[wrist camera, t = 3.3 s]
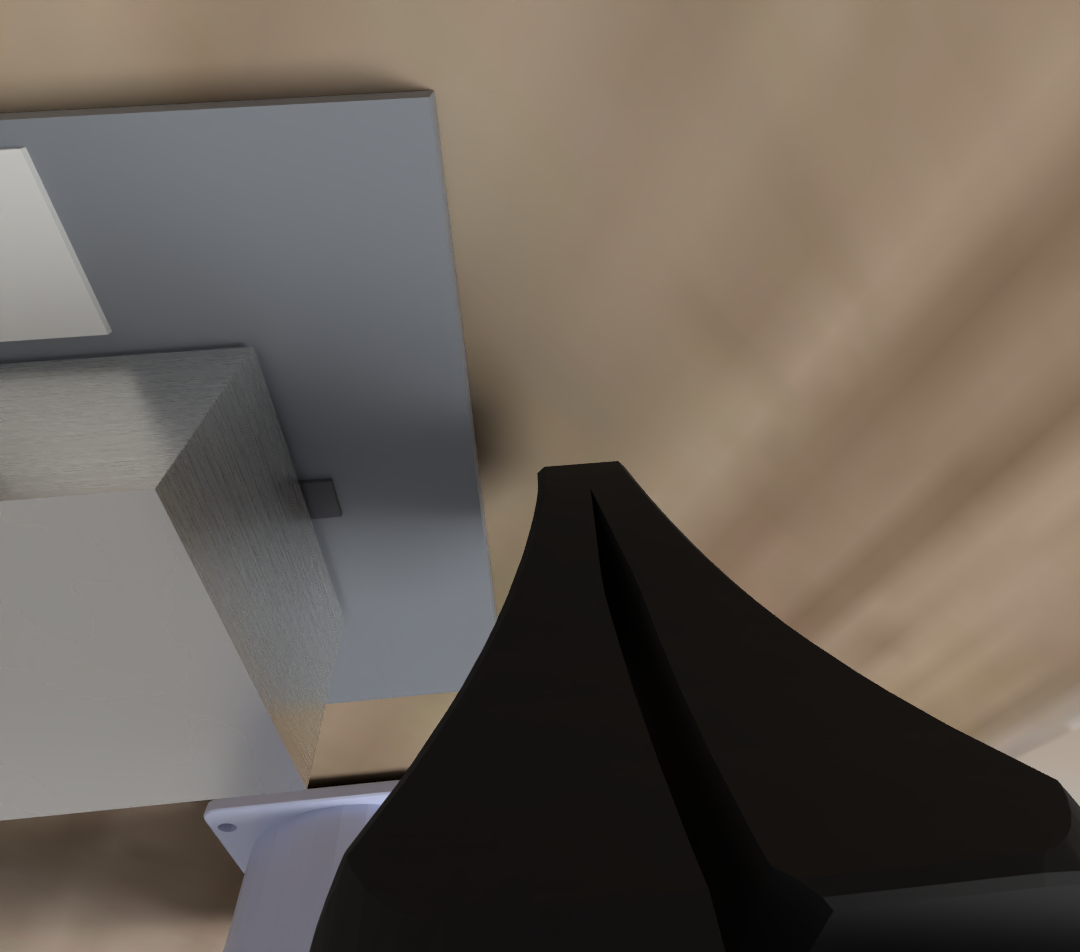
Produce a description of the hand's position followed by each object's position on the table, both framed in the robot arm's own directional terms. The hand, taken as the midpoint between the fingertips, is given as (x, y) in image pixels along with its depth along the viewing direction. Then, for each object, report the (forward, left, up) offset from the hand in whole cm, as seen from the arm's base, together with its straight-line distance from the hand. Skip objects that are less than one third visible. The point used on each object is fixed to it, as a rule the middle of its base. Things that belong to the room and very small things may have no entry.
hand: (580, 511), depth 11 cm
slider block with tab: (+2, +7, -1) cm, 7 cm away
